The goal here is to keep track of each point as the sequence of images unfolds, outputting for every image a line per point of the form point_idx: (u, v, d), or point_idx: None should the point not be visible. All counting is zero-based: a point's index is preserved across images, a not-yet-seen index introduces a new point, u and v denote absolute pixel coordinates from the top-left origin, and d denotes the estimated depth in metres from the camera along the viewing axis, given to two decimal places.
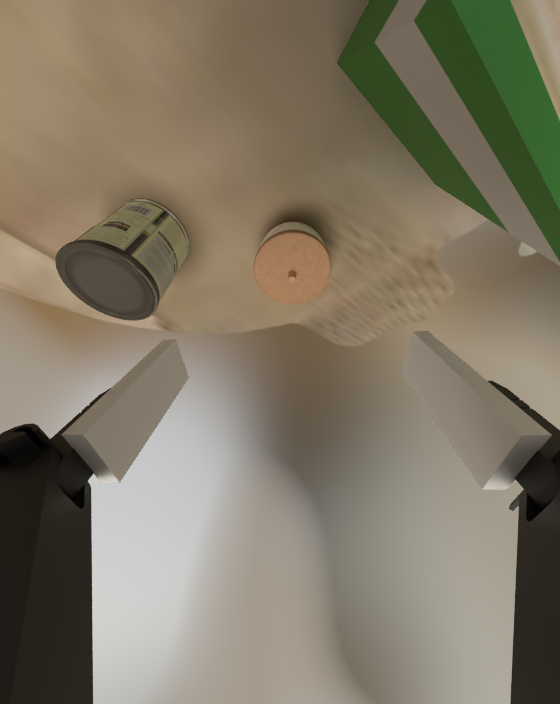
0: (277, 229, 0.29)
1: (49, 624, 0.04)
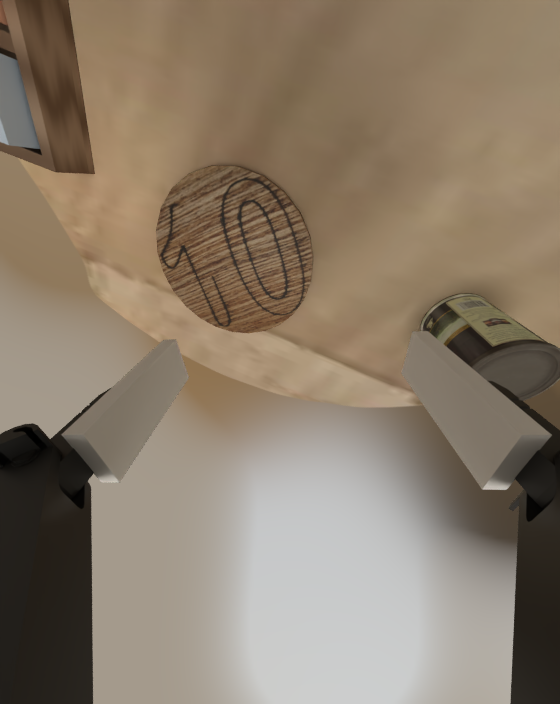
0: None
1: (49, 624, 0.04)
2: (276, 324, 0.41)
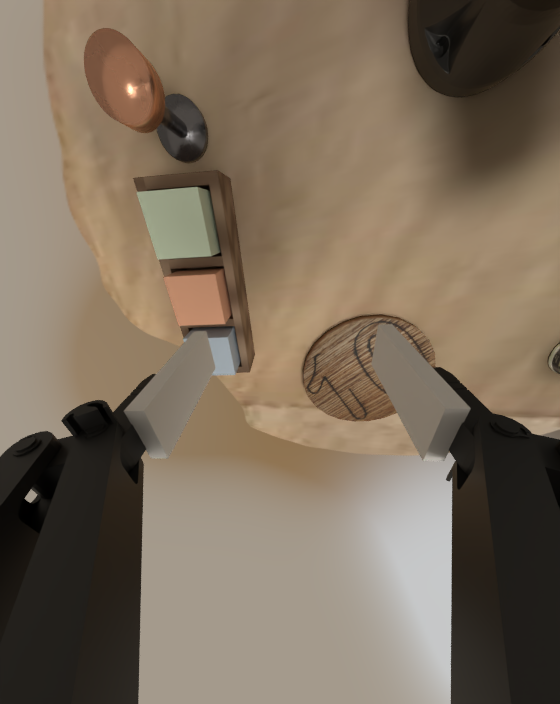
0: None
1: (109, 590, 0.05)
2: None
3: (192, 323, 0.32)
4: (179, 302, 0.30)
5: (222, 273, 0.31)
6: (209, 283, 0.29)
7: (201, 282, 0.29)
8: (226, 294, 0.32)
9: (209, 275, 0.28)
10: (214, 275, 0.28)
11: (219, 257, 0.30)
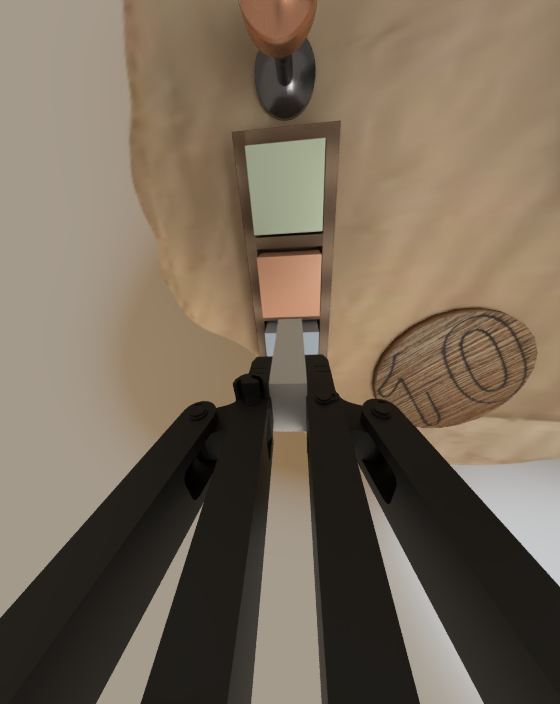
0: None
1: (252, 567, 0.05)
2: (491, 410, 0.42)
3: (280, 315, 0.27)
4: (270, 289, 0.25)
5: None
6: (312, 265, 0.24)
7: (302, 265, 0.24)
8: None
9: (314, 255, 0.23)
10: (320, 255, 0.23)
11: (319, 235, 0.25)
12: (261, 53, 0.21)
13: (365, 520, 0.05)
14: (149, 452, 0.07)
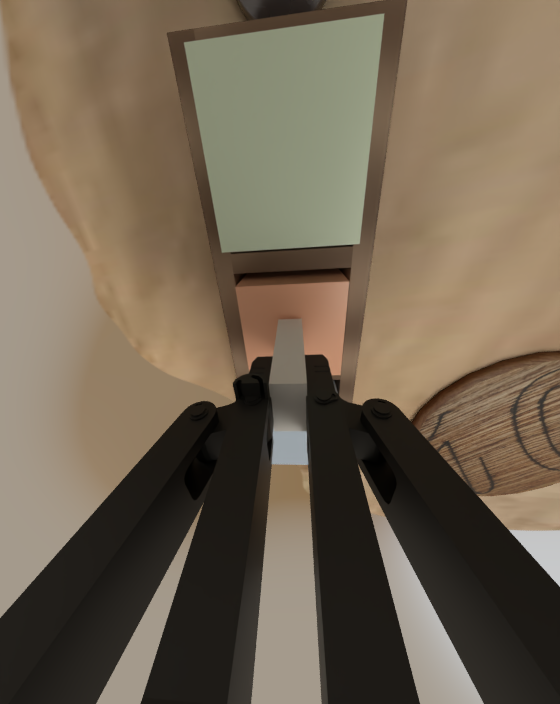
0: None
1: (252, 567, 0.05)
2: None
3: None
4: (260, 336, 0.15)
5: None
6: (331, 300, 0.14)
7: (315, 299, 0.14)
8: None
9: (336, 283, 0.13)
10: (347, 283, 0.13)
11: (346, 249, 0.14)
12: None
13: (365, 520, 0.05)
14: (149, 452, 0.07)
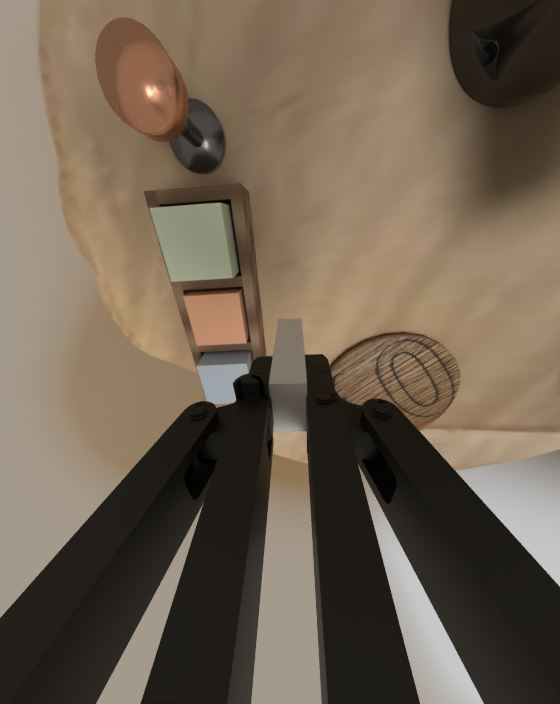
0: None
1: (252, 567, 0.05)
2: (430, 423, 0.45)
3: (211, 343, 0.30)
4: (199, 321, 0.29)
5: (243, 290, 0.30)
6: (232, 302, 0.27)
7: (224, 301, 0.27)
8: (246, 311, 0.31)
9: (232, 294, 0.27)
10: (238, 294, 0.27)
11: (238, 277, 0.27)
12: None
13: (365, 520, 0.05)
14: (149, 452, 0.07)
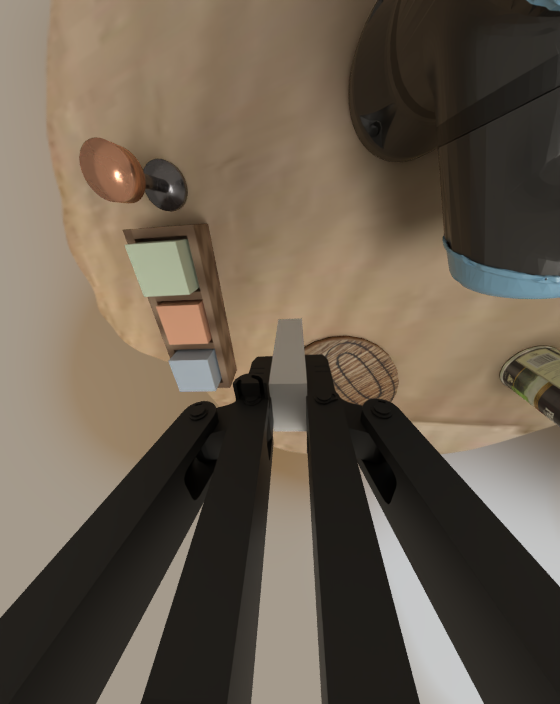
0: None
1: (252, 567, 0.05)
2: None
3: (180, 343, 0.38)
4: (169, 326, 0.36)
5: None
6: (193, 311, 0.35)
7: (187, 311, 0.35)
8: None
9: (193, 305, 0.34)
10: (197, 305, 0.34)
11: (198, 292, 0.35)
12: (145, 173, 0.31)
13: (365, 520, 0.05)
14: (149, 452, 0.07)
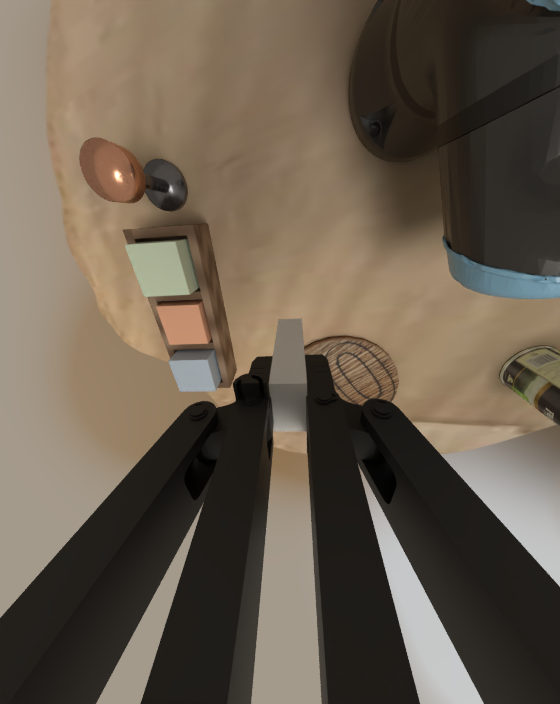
0: None
1: (252, 567, 0.05)
2: None
3: (180, 343, 0.38)
4: (169, 326, 0.36)
5: None
6: (193, 311, 0.35)
7: (187, 311, 0.35)
8: None
9: (193, 305, 0.34)
10: (197, 305, 0.34)
11: (198, 292, 0.35)
12: (145, 173, 0.31)
13: (365, 520, 0.05)
14: (149, 452, 0.07)
